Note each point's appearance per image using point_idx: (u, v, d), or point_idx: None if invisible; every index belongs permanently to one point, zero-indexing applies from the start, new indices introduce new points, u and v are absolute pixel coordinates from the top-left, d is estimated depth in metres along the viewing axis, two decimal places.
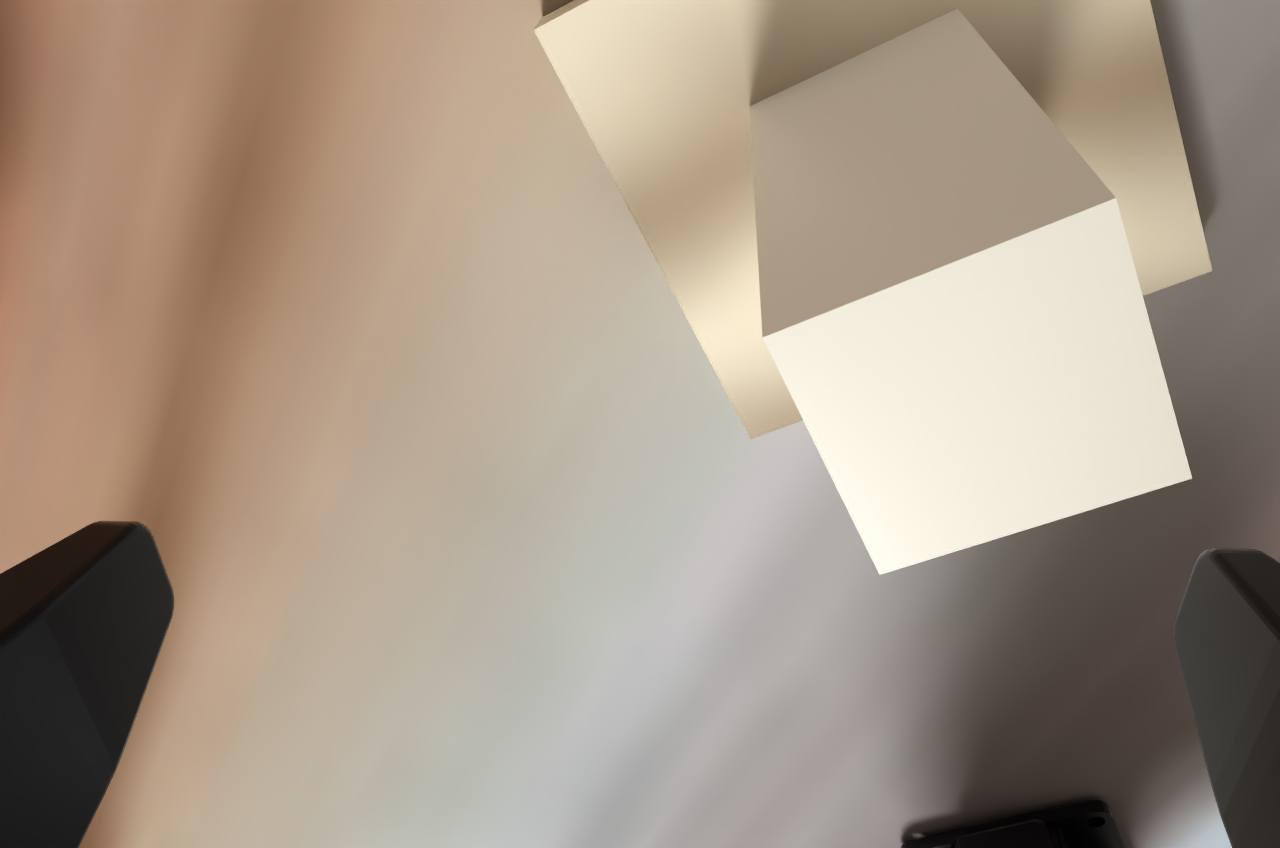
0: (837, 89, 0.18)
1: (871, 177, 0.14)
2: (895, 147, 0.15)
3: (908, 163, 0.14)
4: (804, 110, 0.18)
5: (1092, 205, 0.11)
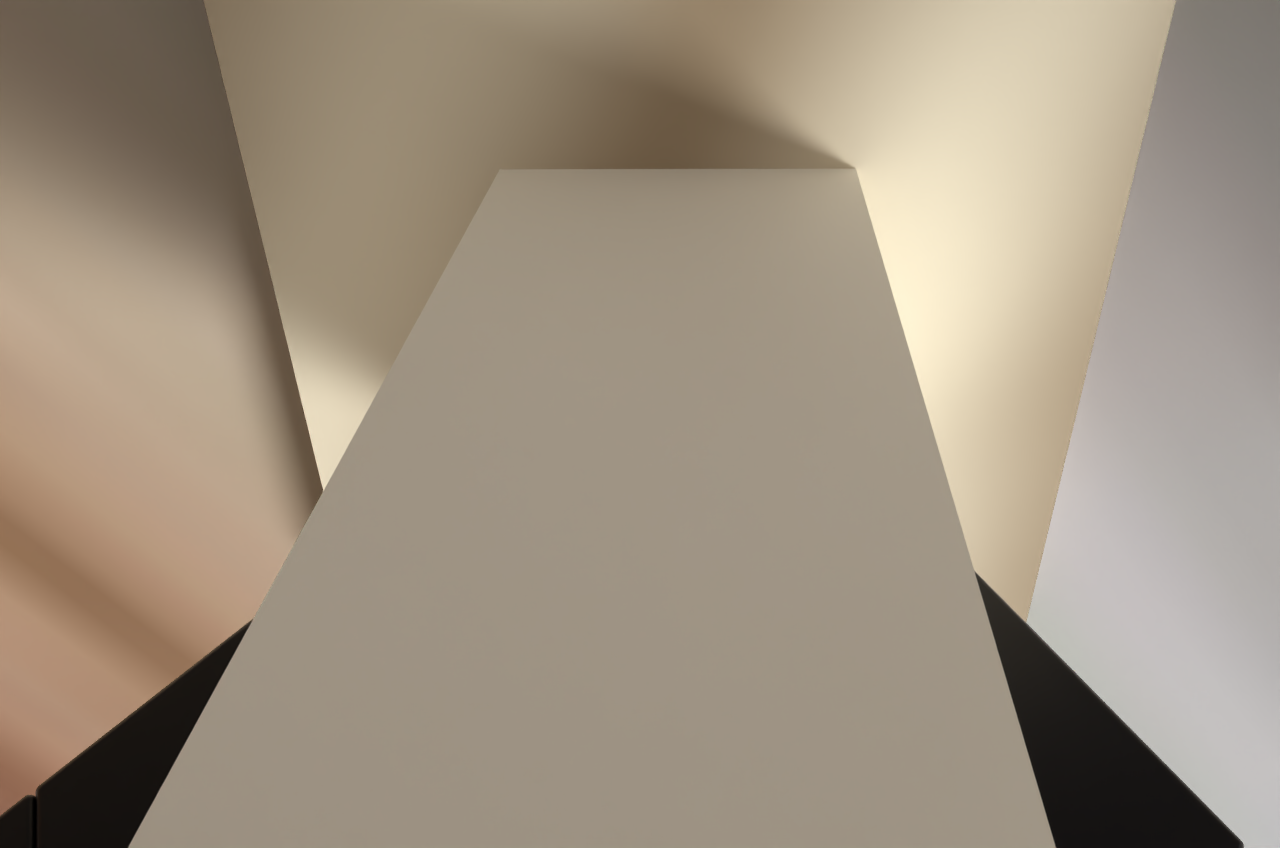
0: None
1: None
2: None
3: None
4: None
5: None
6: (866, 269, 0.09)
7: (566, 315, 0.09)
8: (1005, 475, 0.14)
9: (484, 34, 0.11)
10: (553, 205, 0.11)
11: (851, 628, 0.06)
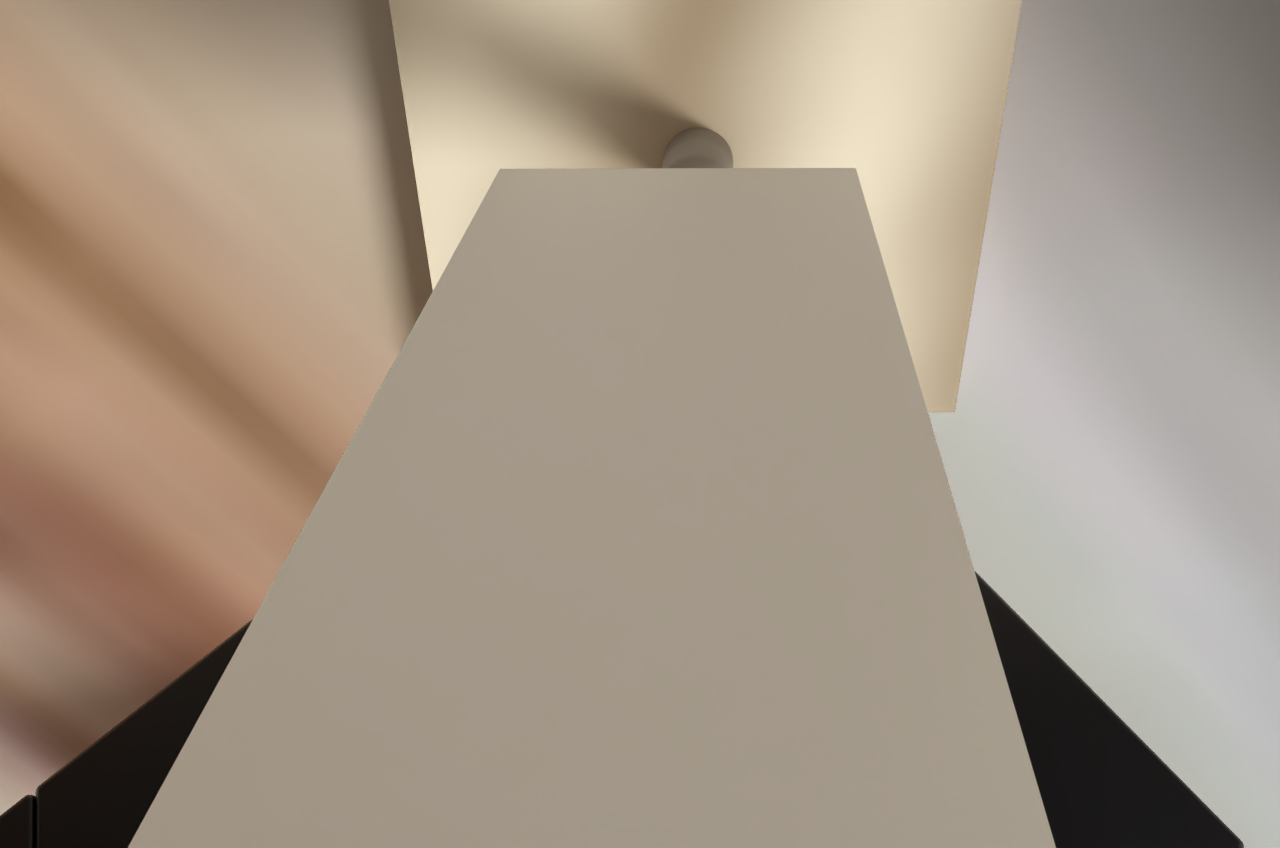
0: None
1: None
2: None
3: None
4: None
5: None
6: (865, 269, 0.09)
7: (566, 314, 0.09)
8: (936, 278, 0.19)
9: None
10: (553, 205, 0.11)
11: (853, 625, 0.06)
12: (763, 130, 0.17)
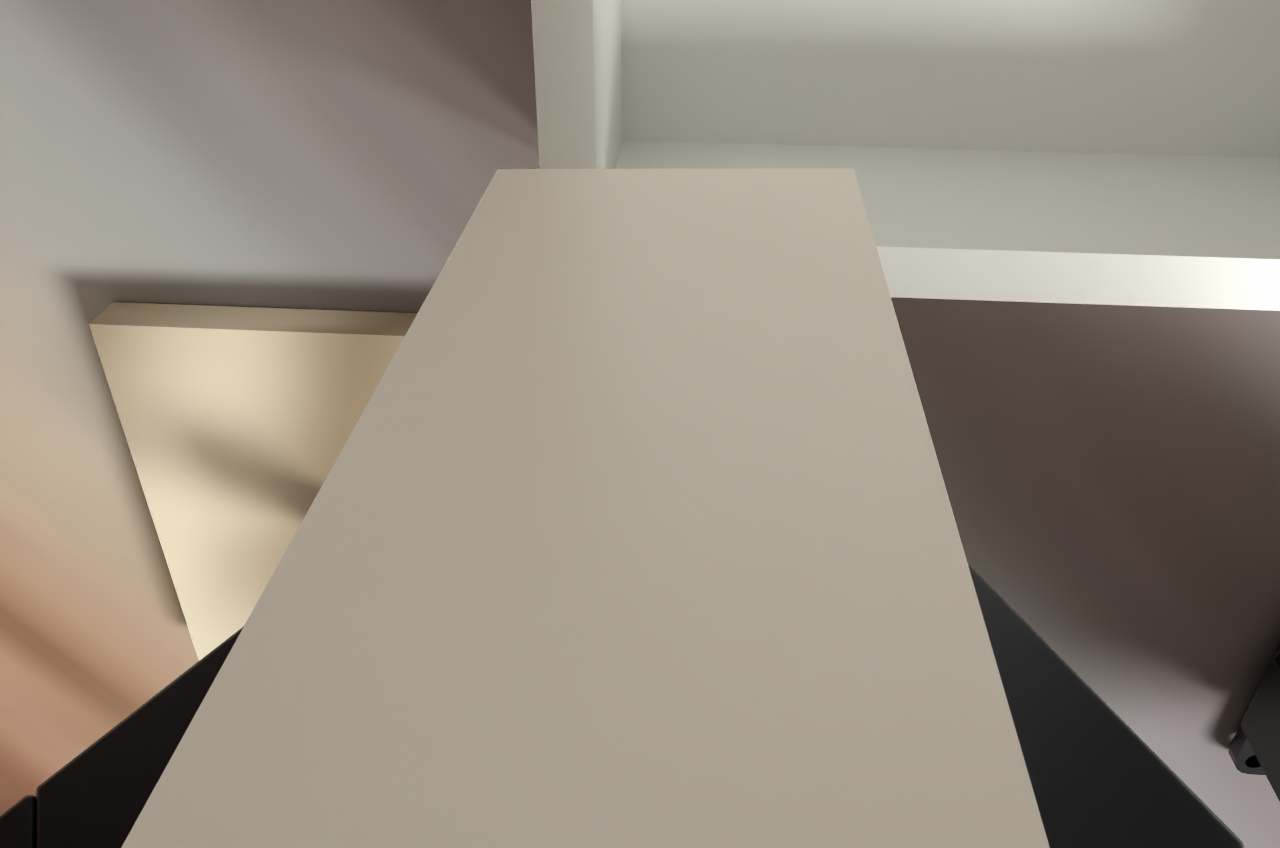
0: None
1: None
2: None
3: None
4: None
5: None
6: (862, 270, 0.09)
7: (563, 315, 0.09)
8: None
9: (245, 393, 0.22)
10: (550, 205, 0.11)
11: (846, 626, 0.06)
12: None
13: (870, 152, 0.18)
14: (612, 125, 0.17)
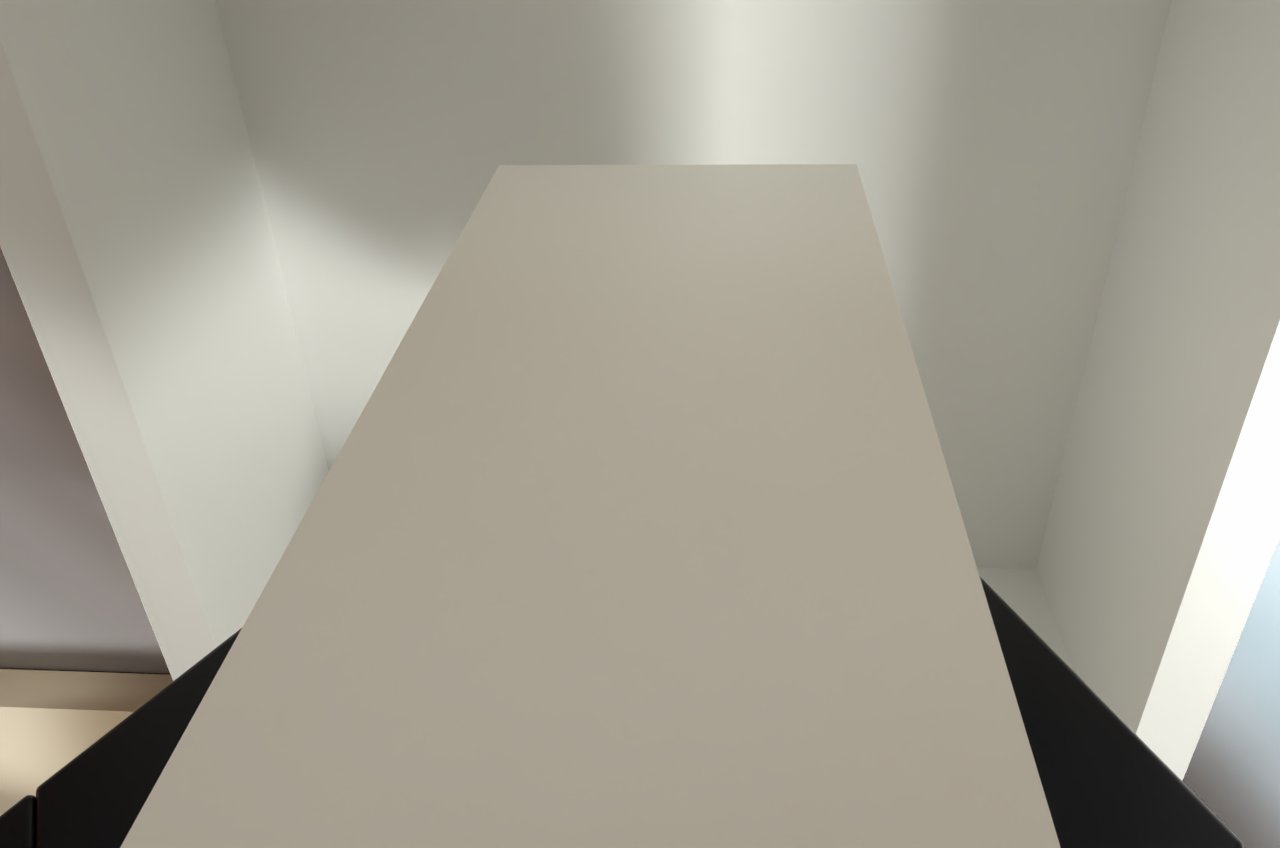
0: None
1: None
2: None
3: None
4: None
5: None
6: (867, 265, 0.09)
7: (565, 311, 0.09)
8: None
9: (21, 756, 0.22)
10: (553, 201, 0.11)
11: (853, 620, 0.05)
12: None
13: None
14: None
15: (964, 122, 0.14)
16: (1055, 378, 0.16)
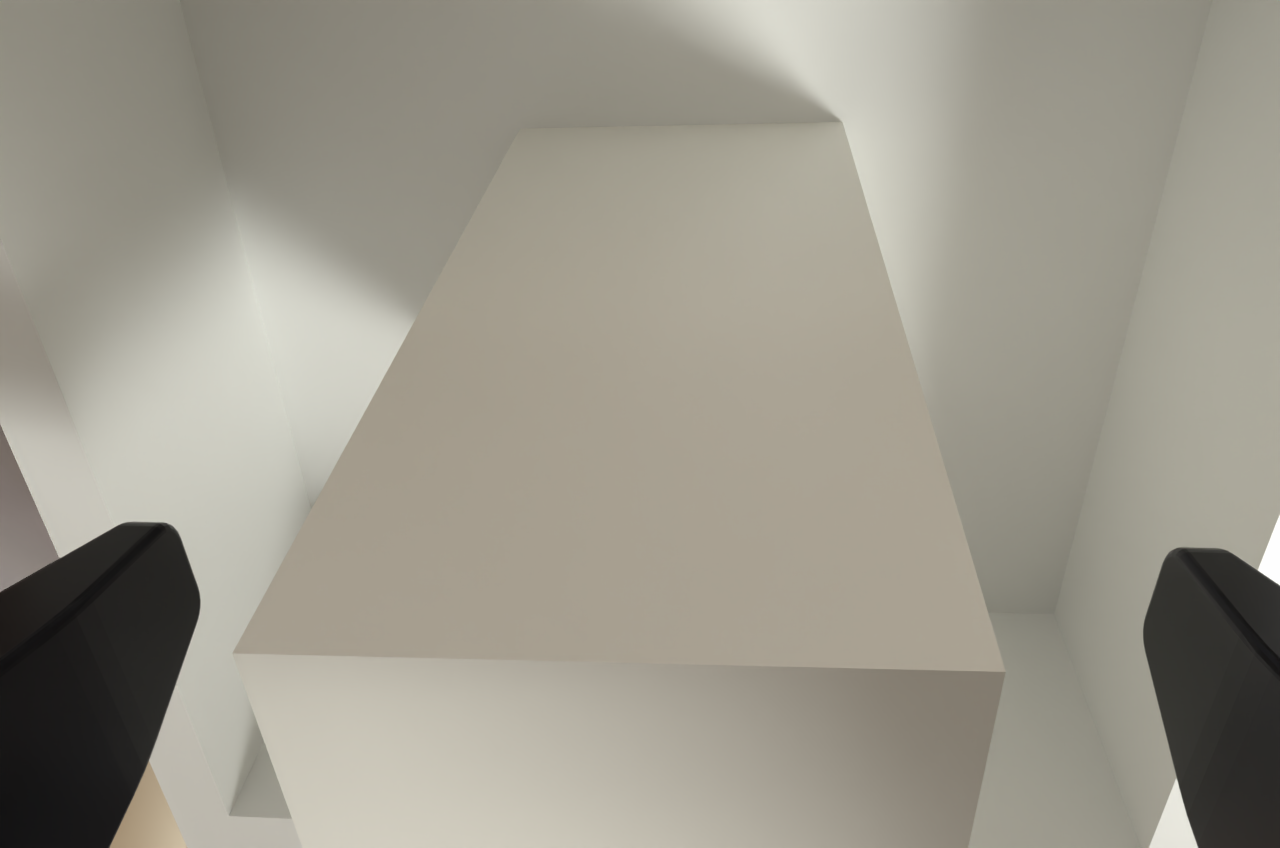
0: None
1: None
2: None
3: None
4: None
5: None
6: (849, 203, 0.10)
7: (585, 241, 0.10)
8: None
9: None
10: (571, 156, 0.12)
11: (827, 459, 0.07)
12: None
13: None
14: None
15: (982, 152, 0.13)
16: (1076, 419, 0.15)
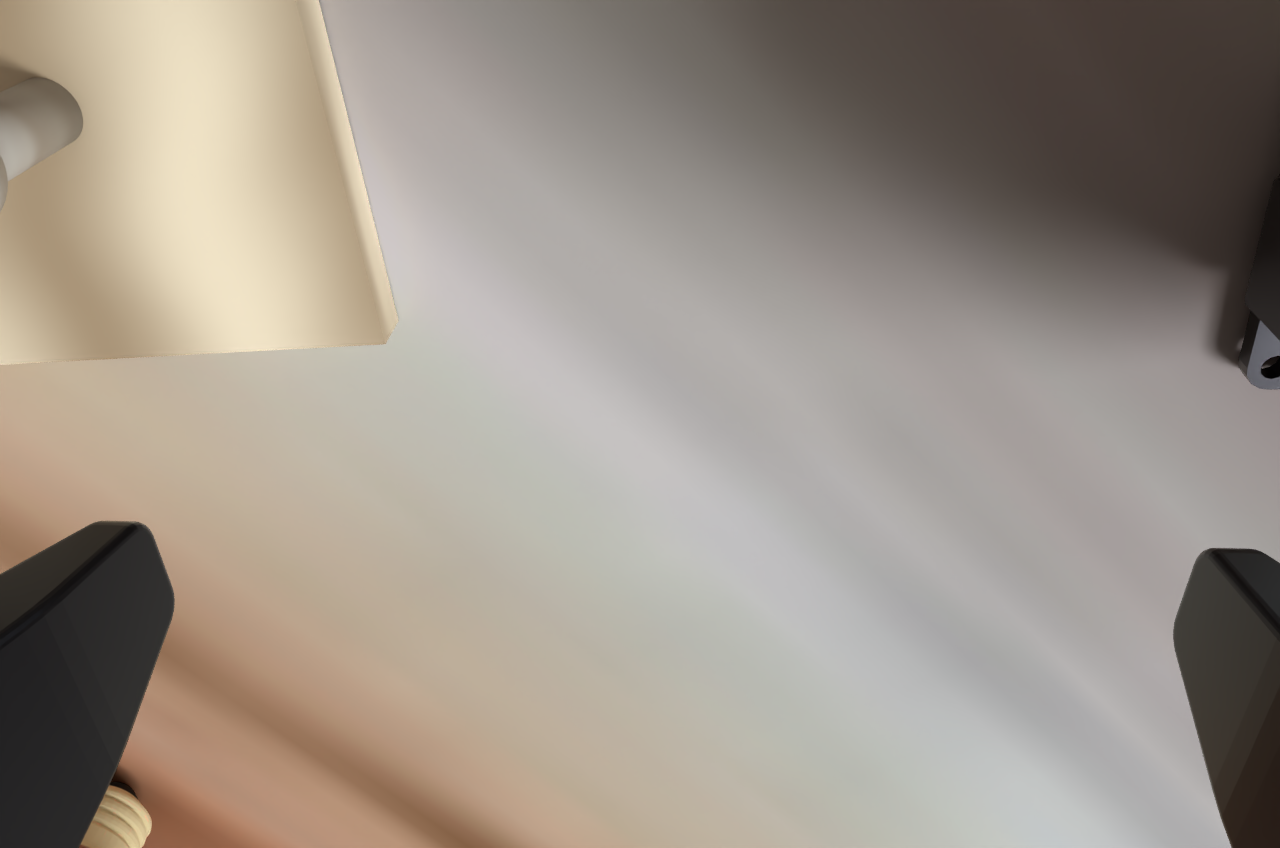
0: None
1: None
2: None
3: None
4: None
5: None
6: None
7: None
8: (312, 210, 0.19)
9: None
10: None
11: None
12: (94, 75, 0.18)
13: None
14: None
15: None
16: None
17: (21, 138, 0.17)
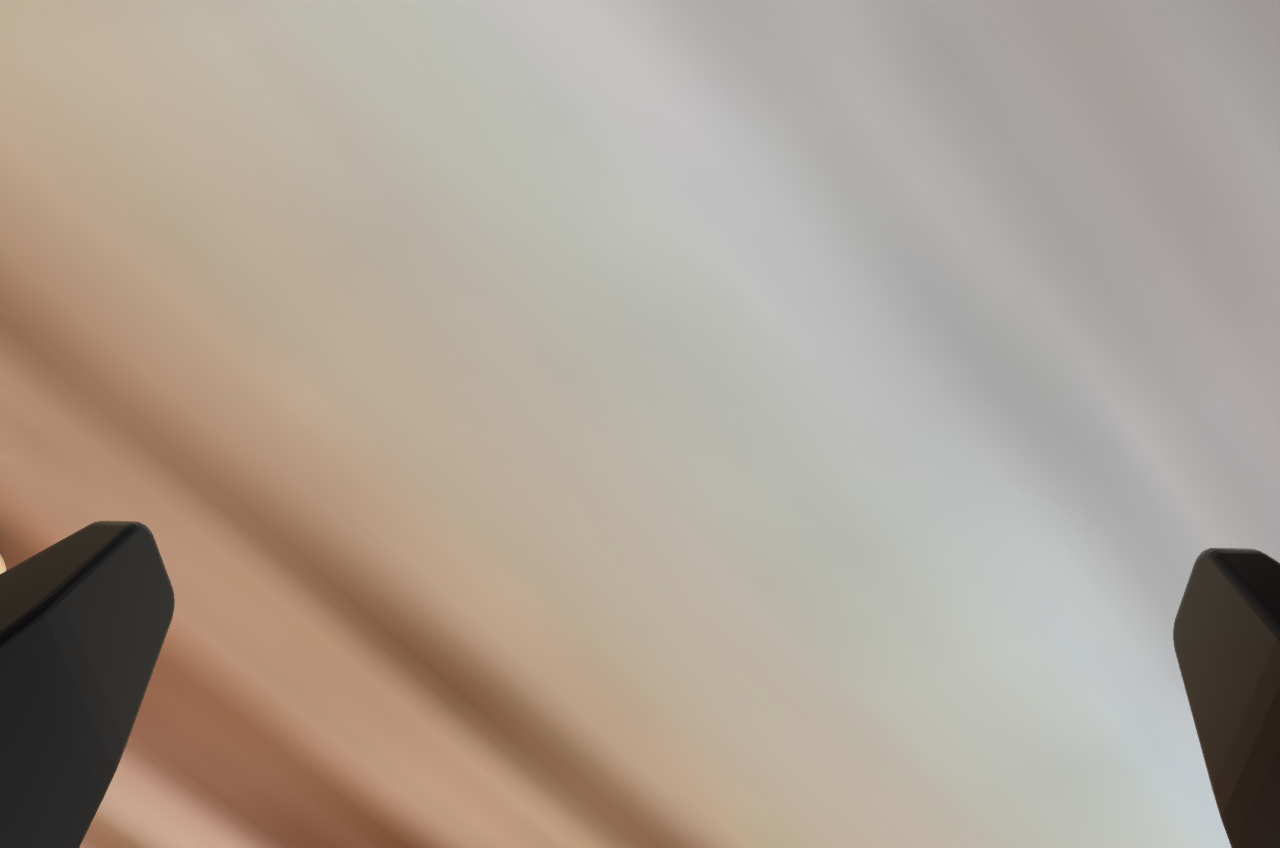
0: None
1: None
2: None
3: None
4: None
5: None
6: None
7: None
8: None
9: None
10: None
11: None
12: None
13: None
14: None
15: None
16: None
17: None
